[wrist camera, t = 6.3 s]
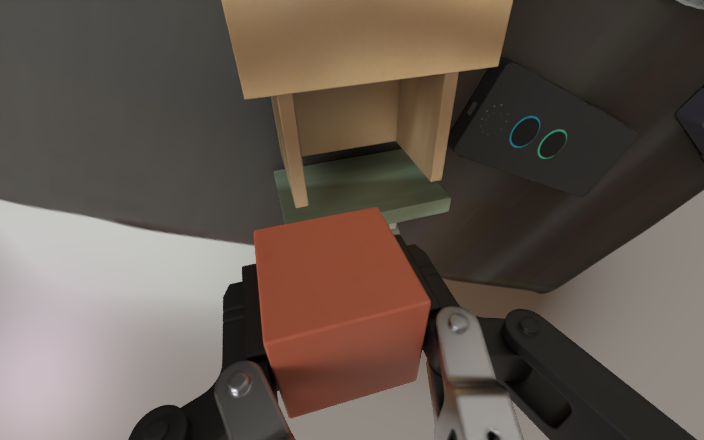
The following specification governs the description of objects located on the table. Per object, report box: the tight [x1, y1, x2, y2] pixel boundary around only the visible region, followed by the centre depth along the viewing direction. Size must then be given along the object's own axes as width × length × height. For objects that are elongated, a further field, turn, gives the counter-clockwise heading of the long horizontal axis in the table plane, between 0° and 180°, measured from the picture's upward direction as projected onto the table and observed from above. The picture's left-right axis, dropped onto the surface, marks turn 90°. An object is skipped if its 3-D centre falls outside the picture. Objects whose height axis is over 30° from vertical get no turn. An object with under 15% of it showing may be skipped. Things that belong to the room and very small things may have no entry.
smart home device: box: [447, 58, 638, 197], centre depth 32 cm, size 8×2×20 cm
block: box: [254, 207, 431, 418], centre depth 12 cm, size 4×4×4 cm
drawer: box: [271, 72, 459, 235], centre depth 23 cm, size 17×11×7 cm, turn 1°
